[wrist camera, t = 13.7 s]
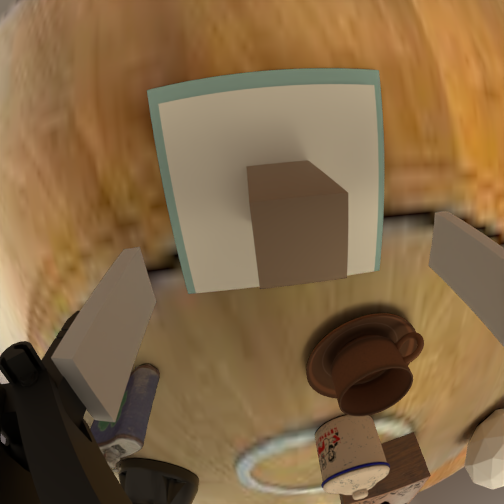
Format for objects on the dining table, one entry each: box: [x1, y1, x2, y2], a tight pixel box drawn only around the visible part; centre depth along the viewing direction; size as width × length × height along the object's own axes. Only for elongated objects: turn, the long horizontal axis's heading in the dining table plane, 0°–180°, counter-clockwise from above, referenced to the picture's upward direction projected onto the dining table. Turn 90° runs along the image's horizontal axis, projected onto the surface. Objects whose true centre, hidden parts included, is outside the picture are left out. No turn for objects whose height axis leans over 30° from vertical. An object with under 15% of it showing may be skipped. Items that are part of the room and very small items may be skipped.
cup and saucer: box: [307, 313, 424, 416], centre depth 27 cm, size 12×12×6 cm
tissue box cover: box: [340, 432, 430, 504], centre depth 42 cm, size 26×14×10 cm, turn 15°
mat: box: [147, 68, 384, 294], centre depth 21 cm, size 16×16×1 cm
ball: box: [465, 408, 504, 489], centre depth 36 cm, size 19×20×20 cm
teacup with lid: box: [315, 415, 390, 500], centre depth 32 cm, size 12×9×12 cm
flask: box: [90, 364, 159, 472], centre depth 25 cm, size 10×3×12 cm, turn 129°
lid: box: [158, 84, 379, 293], centre depth 17 cm, size 14×14×9 cm
